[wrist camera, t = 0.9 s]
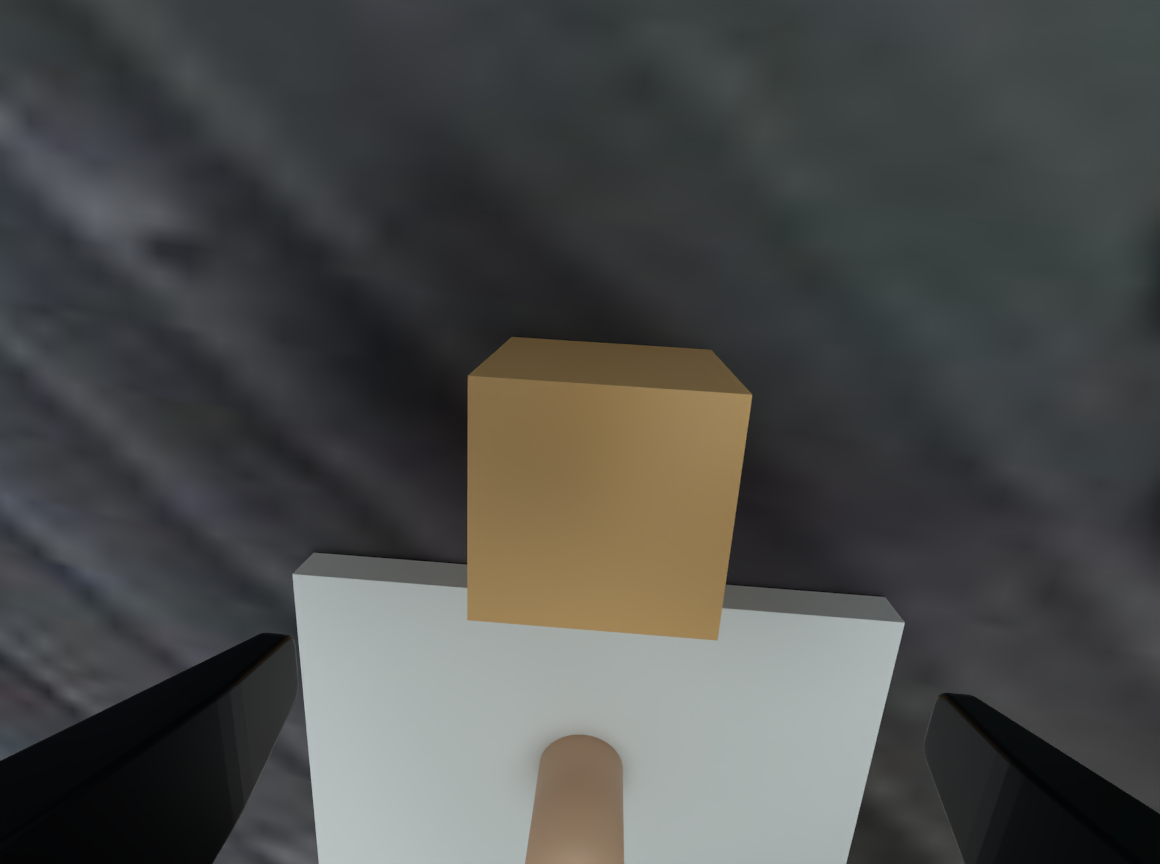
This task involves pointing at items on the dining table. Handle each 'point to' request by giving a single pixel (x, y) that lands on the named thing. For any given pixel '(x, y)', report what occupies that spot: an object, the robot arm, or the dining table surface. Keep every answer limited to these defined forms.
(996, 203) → the dining table surface
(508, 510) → the cardboard box
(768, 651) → the plate
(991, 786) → the robot arm
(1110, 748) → the dining table surface
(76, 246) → the dining table surface
